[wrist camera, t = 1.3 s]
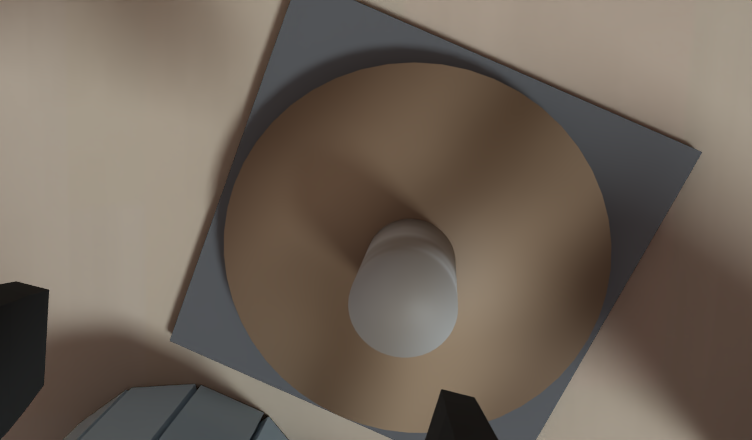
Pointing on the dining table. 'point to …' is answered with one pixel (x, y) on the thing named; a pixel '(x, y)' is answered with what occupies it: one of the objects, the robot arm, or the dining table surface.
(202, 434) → the bowl
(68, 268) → the dining table surface
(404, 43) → the mat
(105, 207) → the dining table surface
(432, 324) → the lid
